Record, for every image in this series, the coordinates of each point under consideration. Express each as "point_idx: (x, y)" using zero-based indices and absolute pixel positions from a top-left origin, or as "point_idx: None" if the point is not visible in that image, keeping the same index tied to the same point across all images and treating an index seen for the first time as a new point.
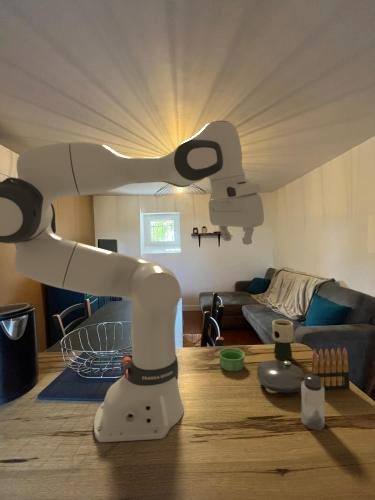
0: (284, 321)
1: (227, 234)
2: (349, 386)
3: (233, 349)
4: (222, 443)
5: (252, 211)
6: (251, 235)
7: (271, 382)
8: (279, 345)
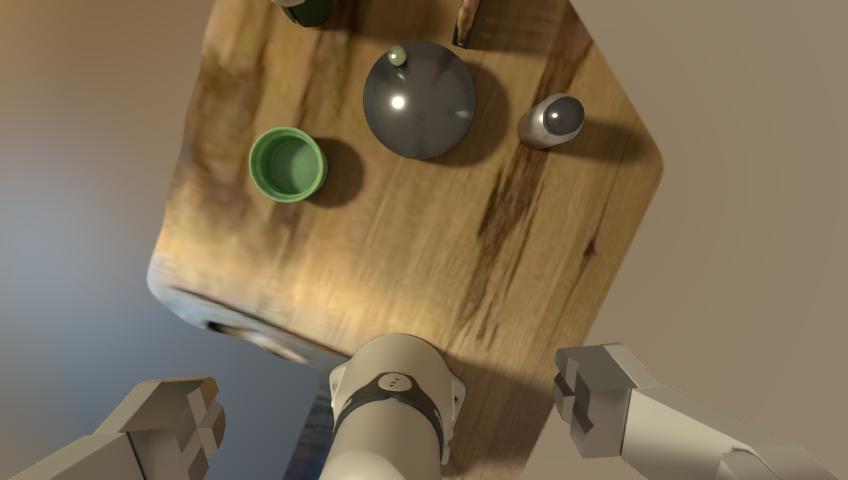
0: None
1: (161, 460)
2: None
3: (259, 143)
4: (512, 304)
5: None
6: (686, 401)
7: (447, 150)
8: (304, 2)
